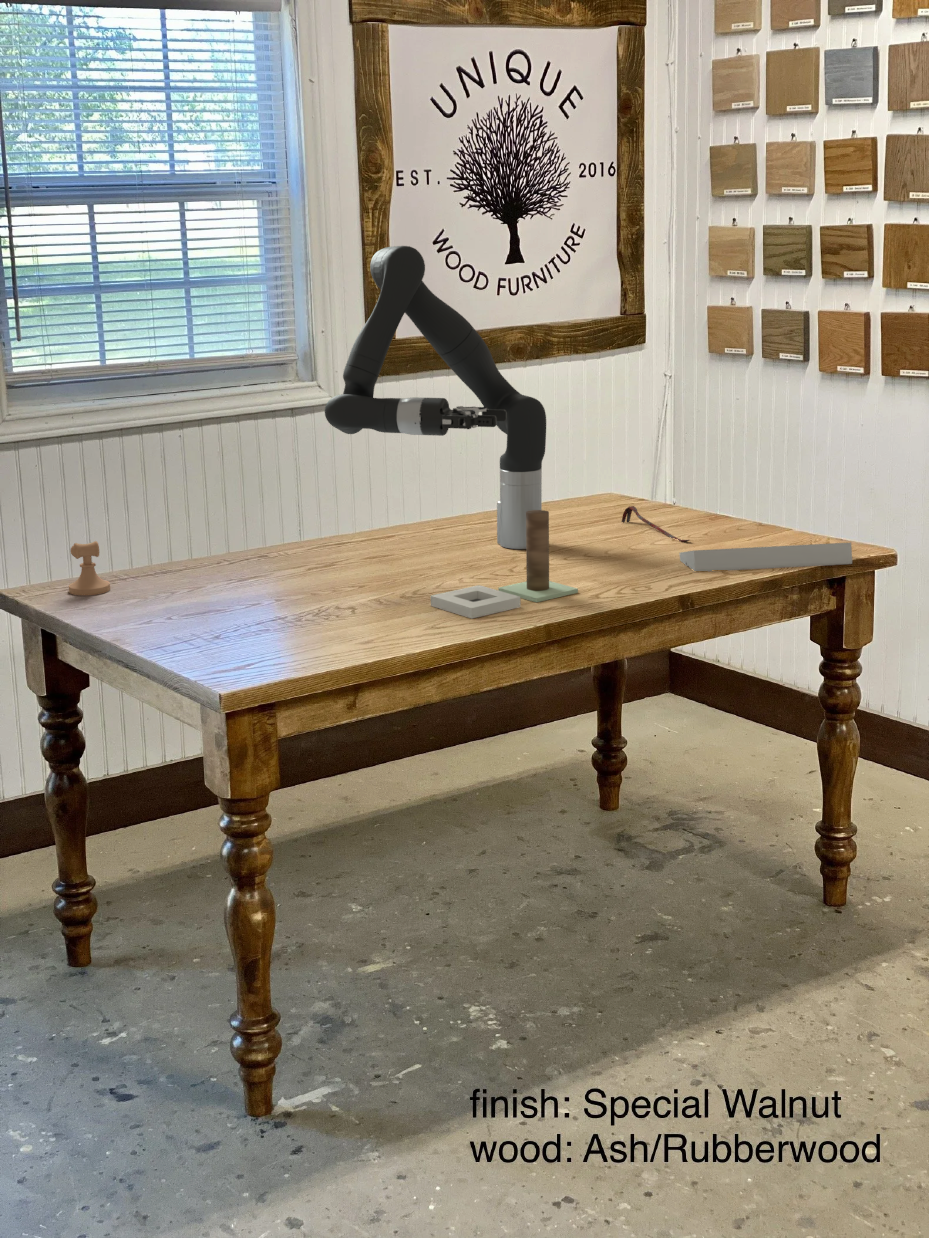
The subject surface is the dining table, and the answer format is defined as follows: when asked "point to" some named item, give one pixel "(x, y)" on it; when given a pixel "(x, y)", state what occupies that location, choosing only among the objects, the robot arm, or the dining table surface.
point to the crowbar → (628, 514)
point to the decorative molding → (768, 557)
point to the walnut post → (537, 549)
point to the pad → (537, 596)
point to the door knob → (87, 571)
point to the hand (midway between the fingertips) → (501, 418)
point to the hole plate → (475, 601)
